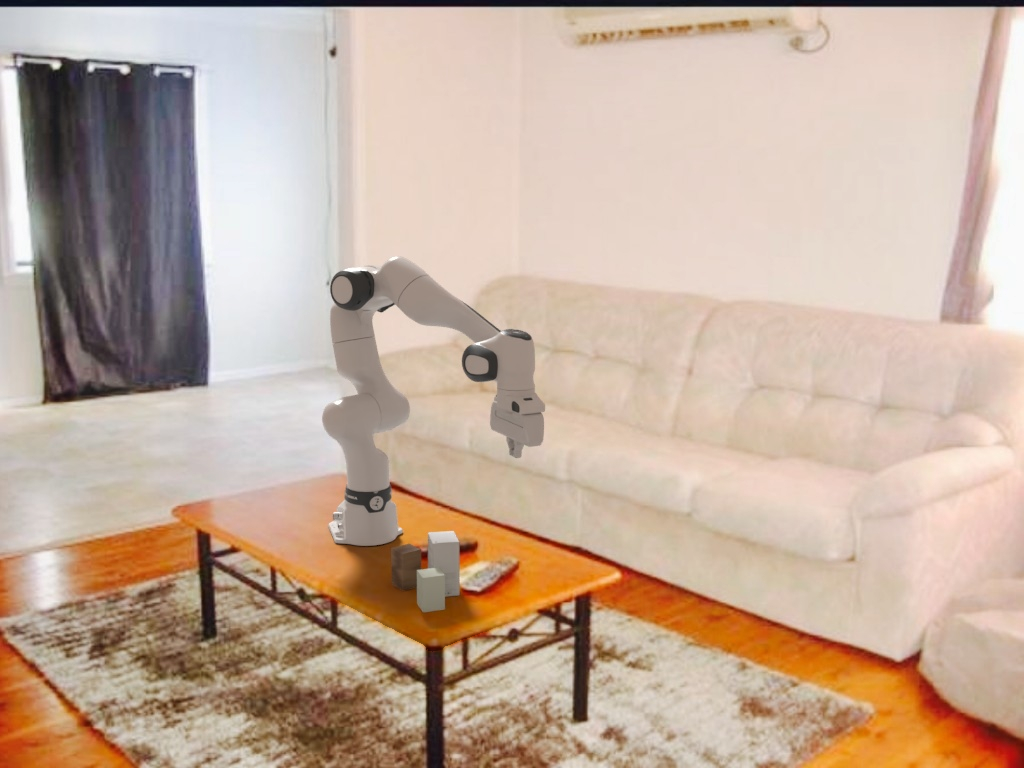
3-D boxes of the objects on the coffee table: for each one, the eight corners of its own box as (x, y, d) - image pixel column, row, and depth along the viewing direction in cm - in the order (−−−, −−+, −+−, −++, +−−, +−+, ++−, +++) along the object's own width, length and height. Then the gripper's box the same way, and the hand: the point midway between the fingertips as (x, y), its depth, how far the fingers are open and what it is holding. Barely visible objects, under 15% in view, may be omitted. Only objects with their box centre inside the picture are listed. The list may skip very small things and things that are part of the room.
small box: (460, 596, 236) (460, 541, 233) (432, 598, 235) (432, 543, 232) (454, 582, 244) (454, 530, 241) (427, 584, 242) (427, 531, 240)
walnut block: (391, 584, 242) (391, 547, 241) (409, 579, 246) (409, 543, 244) (403, 591, 239) (402, 553, 237) (421, 586, 242) (421, 549, 240)
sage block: (417, 603, 231) (416, 570, 230) (438, 600, 233) (438, 567, 232) (423, 612, 227) (422, 577, 225) (444, 609, 229) (444, 575, 227)
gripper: (483, 392, 249) (483, 448, 252) (524, 408, 232) (524, 468, 234) (506, 390, 252) (506, 445, 255) (549, 406, 234) (548, 465, 237)
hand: (515, 456), depth 244 cm, fingers closed
